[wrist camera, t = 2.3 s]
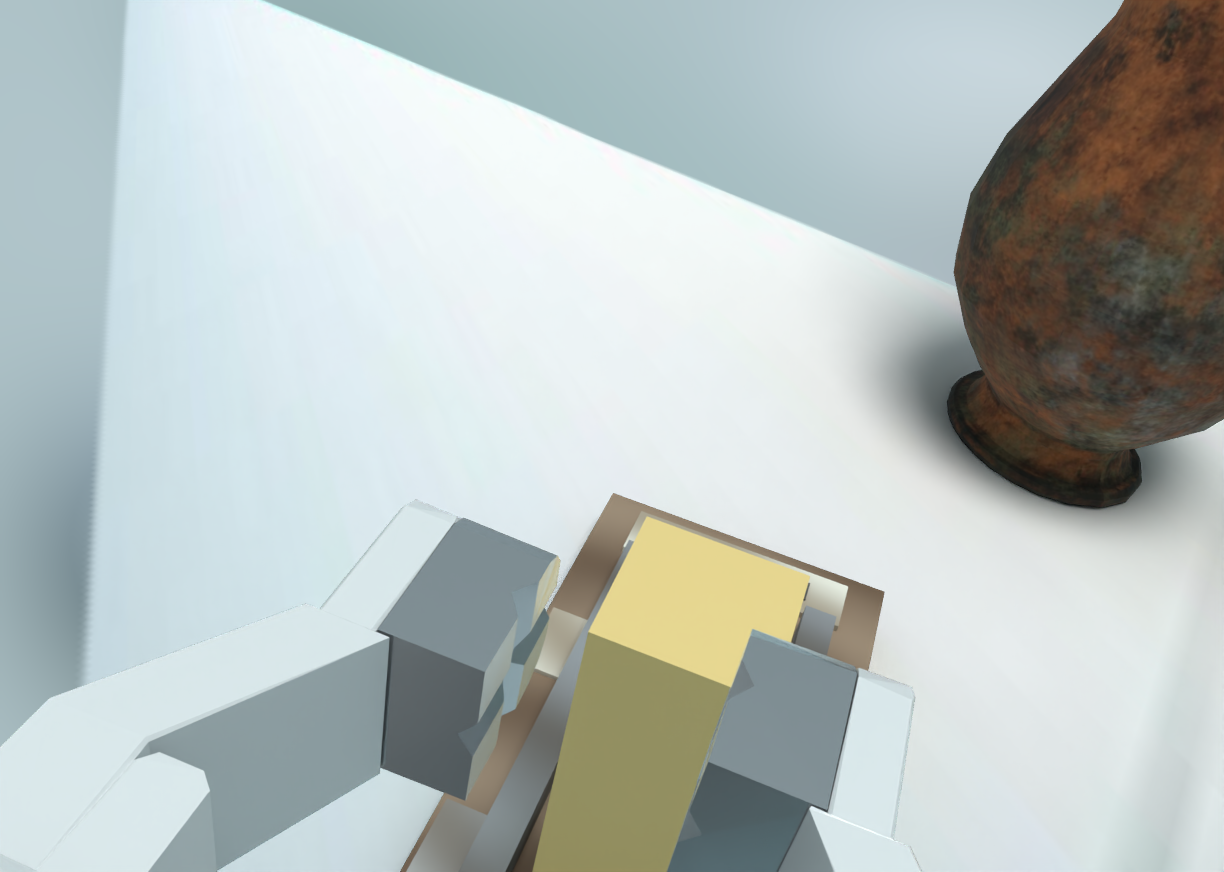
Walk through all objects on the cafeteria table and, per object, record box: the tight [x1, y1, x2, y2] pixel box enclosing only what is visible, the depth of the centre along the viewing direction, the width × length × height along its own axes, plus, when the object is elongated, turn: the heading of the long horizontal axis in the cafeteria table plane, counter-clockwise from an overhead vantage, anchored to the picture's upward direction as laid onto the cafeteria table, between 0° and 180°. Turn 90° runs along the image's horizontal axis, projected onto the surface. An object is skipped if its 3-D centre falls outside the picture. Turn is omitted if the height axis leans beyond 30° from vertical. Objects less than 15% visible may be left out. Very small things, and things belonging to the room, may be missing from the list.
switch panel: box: [400, 493, 884, 872], centre depth 36 cm, size 26×12×4 cm, turn 160°
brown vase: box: [947, 0, 1224, 507], centre depth 49 cm, size 17×21×30 cm
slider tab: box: [532, 517, 810, 872], centre depth 28 cm, size 5×4×14 cm
